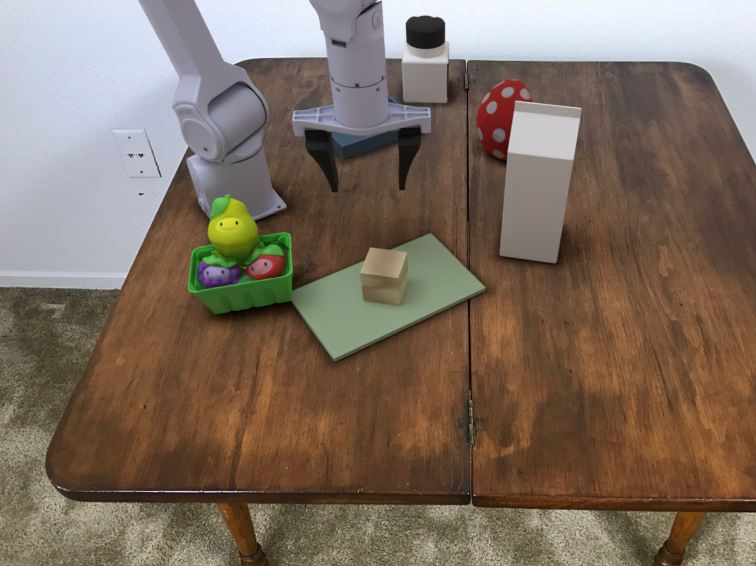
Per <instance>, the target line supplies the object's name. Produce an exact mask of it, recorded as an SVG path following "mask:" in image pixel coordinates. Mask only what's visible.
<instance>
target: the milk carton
mask: <svg viewBox="0 0 756 566" xmlns="http://www.w3.org/2000/svg"><path fill="white" fill-rule="evenodd" d="M582 111H583V110H582V107H576V106H567V105H560V104H559V105H557V104H548V103H539V102H533V103H532V102H523V101H515V108H514V116H513V122H512V128H511V134H510V141H509V147H508V156H507V159H506V169H505V181H504V195H503V207H502V219H501V229H500V230H501V231H500V245H499V256H500V257H505V258H514V259H520V260H521V259H522V260H527V261H535V262H542V263H549V264H556V263H557V262H558V257H559V250H560V245H561V238H562V232H563V226H564V220H565V214H566V209H567V201H568V197H569V190H570V184H571V178H572V173H573V168H574V167H573V166H574V161H575V155H576V148H577V141H578V135H579V128H580V122H581V116H582Z"/></svg>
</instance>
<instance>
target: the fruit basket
mask: <svg viewBox="0 0 756 566" xmlns="http://www.w3.org/2000/svg"><path fill="white" fill-rule="evenodd" d="M210 217H211V220H209V224H208V227H207V236H208V240H209V241H210V243H211V244H208V245H203V246H198V247H196V248H195V249H193V250H192V252H191V255H190V263H189V264H190V265H189V273H188V281H187V290H188V292H189V293H191V294H192V295H193V296H195V297H196V298H198V299H199V300H200V301H201V302H202V303H203V304H204V305H205V306H206V307H207V308H208V309H209V310H210V311H211V312H212V313H213V314H214V315H221V314H225V313H229V312H231V311H233V312H235V311H236V312H237V311H243V310H249V309H251V308H253V307H254V308H261V307H265V306H271V305H273V304H282V303H287V302H291V300H292V291H293V279H292V278H293V276H294V267H293V253H292V251H293V250H292V235H291V234H290V233H289V232H287V231H286V232H285V231H283V232H277V233H271V234H265V235H259V228H258V224H257V223H256V220H255V221H254V220H253V218H252V217H251V216H250V215H249V213H248V211H247V208H246V206H245V205H244V203H242V202H240V201H238V200H236V199H233V198H232V196H231V195H225V198H223V197H219V198H216V199H215V200H214V201H213V203H212V212H211V214H210Z"/></svg>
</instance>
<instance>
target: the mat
mask: <svg viewBox="0 0 756 566" xmlns="http://www.w3.org/2000/svg"><path fill="white" fill-rule="evenodd" d="M390 250H394V251H402V252H407V257H408V276H409V281H408V284H407V287H406V290H405V293H404V296H403V299H402V302H401V305H400V306H398V305H391V304H384V303H377V302H370V301H363V294H362V286H361V278H360V271H361V269H362V266H363V264H364V261H365V260H363V261H360V262H358V263H355V264H353V265H351V266H350V265H349V266H348V267H346V268H344V269H341V270H339V271H335V272H334V273H331V274H329V275H327V276H325V277H322V278H320V279H317V280H315V281H311V282H310V283H308V284H305V285H302V286H301V287H298V288H296V289H292V300H291V301H290V302H291V304H292V305H293V306H294V308H295V309H296V311H297V312H298V314H299V315H300V316H301V318H302V319H303V321H304V322H305V323H306V325H307V326H308V328H309V329H310V330H311V331H312V333H313V335H314V336H315V337H316V338H317V340H318V342H319V343H320V345H321V346H322V347H323V348H324V350H325V352H326V353H327V354H328V355H329V357H330V358H331V360H332V361H333V362H334V363H336V362H338V361H341V360H342V359H344V358H346V357H349V356H350V355H353V354H356V353H357V352H359V351H361V350H364V349H365V348H367V347H370V346H372V345H374V344H377V343H379V342H380V341H382V340H385V339H386V338H387V339H388V338H389V337H391V336H393V335H396V334H398V333H400V332H402V331H404V330H405V329H408V328H410V327H413V326H414V325H416V324H418V323H421V322H422V321H425V320H427V319H429V318H431V317H433V316H435V315H437V314H439V313H441V312H445V311H446V310H448V309H451V308H452V307H455V306H457V305H458V304H462V302H465V301H468V300H470V299H471V298H473V297H475V296H478V295H480V294H482V293H485V292H486V286H485V285H484V284H483V283H482V282H481V281H480V280H479V279H478V278H477V277H476V276H475V275H474V274H473V273H472V272H471V271H470V270H469V269H468V268H467V267H466V266H465V265H463V263H462V262H461V261H460V260H458V258H457V257H455V255H454V254H453V253H452V252H451V251H449V249H448V248H447V247H445V245H443V244H442V243H441V241H439V239H437V238H436V237H435V236H434V234H432V232H430V233H428V234H424V235H423V236H420V237H417V238H415V239H413V240H411V241H408V242H406V243H403V244H401V245H398V246H396V247H393V248H392V249H391V248H390Z"/></svg>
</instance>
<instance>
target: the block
mask: <svg viewBox="0 0 756 566" xmlns="http://www.w3.org/2000/svg"><path fill="white" fill-rule="evenodd" d="M363 261H364V264H363V266H362V269H361V271H360V278H361V286H362V294H363V301H370V302H377V303H384V304H391V305H398V306H400V305H401V302H402V299H403V296H404V293H405V290H406V287H407V284H408V281H409V276H408V257H407V252H402V251H394V250H391V249H385V248H379V247H369V250H368V252H367V255H366V257H365V259H364V260H363Z"/></svg>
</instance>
